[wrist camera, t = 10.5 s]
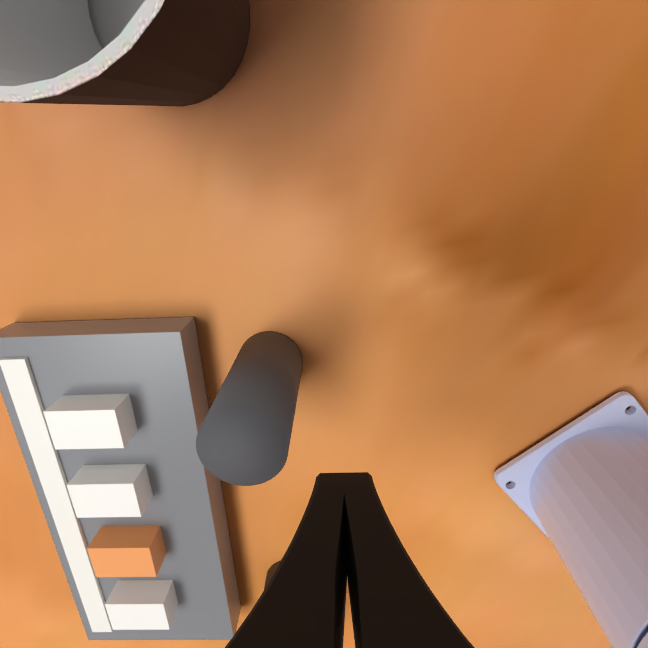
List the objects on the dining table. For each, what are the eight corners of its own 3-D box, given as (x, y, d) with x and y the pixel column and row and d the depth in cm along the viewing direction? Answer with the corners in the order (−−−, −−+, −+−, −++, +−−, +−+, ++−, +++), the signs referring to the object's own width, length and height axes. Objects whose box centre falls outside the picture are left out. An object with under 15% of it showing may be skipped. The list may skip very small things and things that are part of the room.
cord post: (315, 363, 21) (306, 452, 15) (270, 400, 22) (243, 500, 15) (270, 318, 20) (240, 391, 14) (225, 358, 21) (176, 445, 15)
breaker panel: (13, 322, 21) (-45, 350, 18) (194, 316, 20) (168, 344, 17) (105, 608, 28) (75, 665, 25) (240, 607, 27) (228, 665, 24)
